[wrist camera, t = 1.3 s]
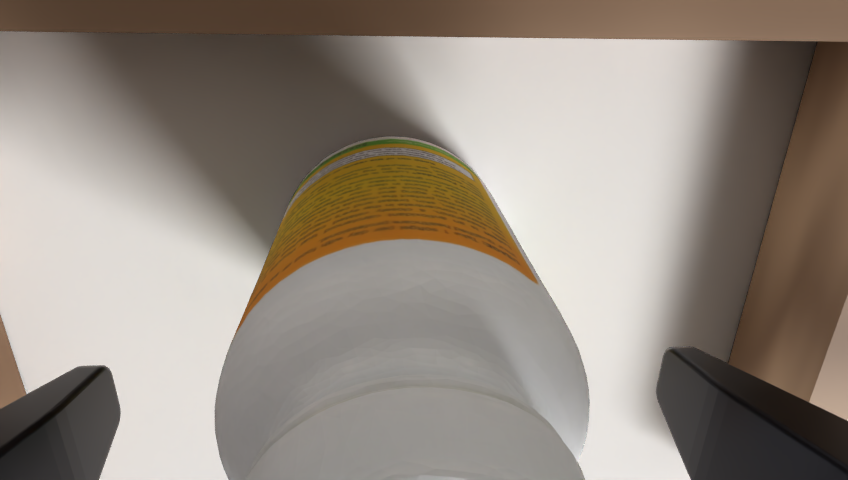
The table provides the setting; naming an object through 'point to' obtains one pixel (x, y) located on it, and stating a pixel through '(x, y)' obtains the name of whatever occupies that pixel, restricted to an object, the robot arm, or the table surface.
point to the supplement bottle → (400, 335)
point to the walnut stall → (602, 19)
